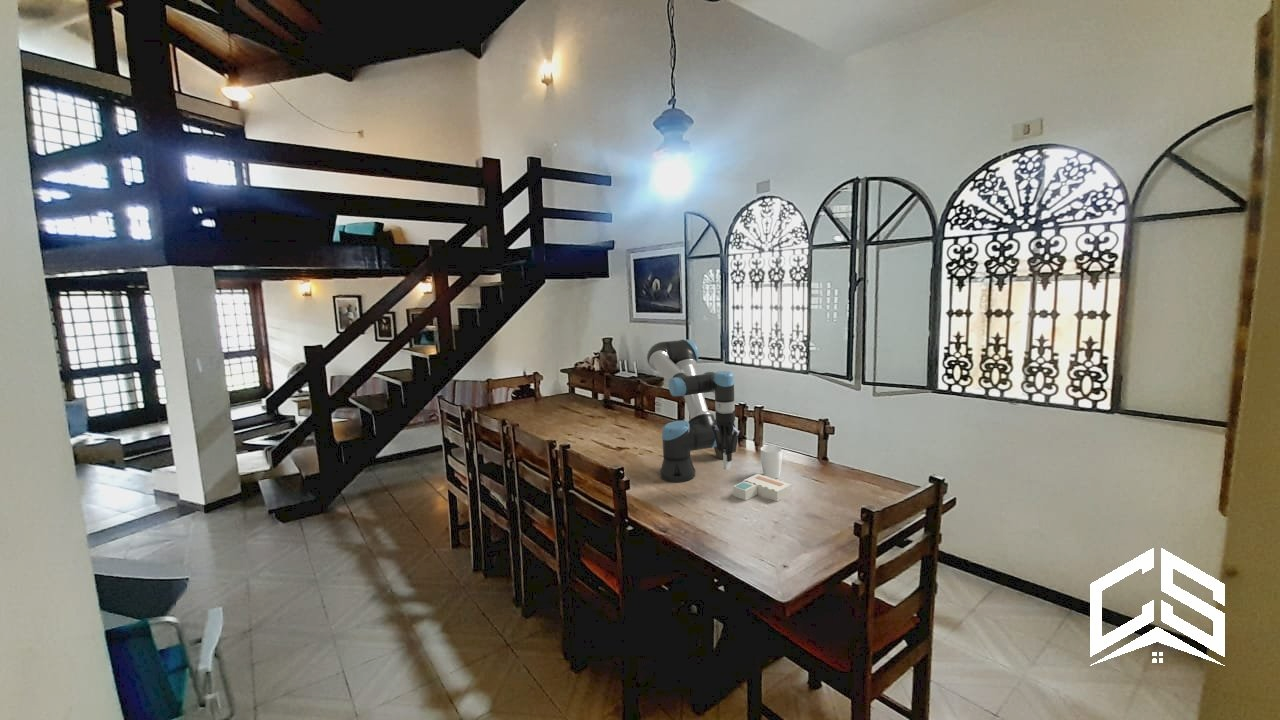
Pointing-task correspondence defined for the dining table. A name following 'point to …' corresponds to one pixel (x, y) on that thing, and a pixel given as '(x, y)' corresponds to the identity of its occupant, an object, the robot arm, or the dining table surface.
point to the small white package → (770, 487)
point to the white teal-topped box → (745, 490)
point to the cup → (771, 461)
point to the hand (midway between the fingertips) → (727, 468)
